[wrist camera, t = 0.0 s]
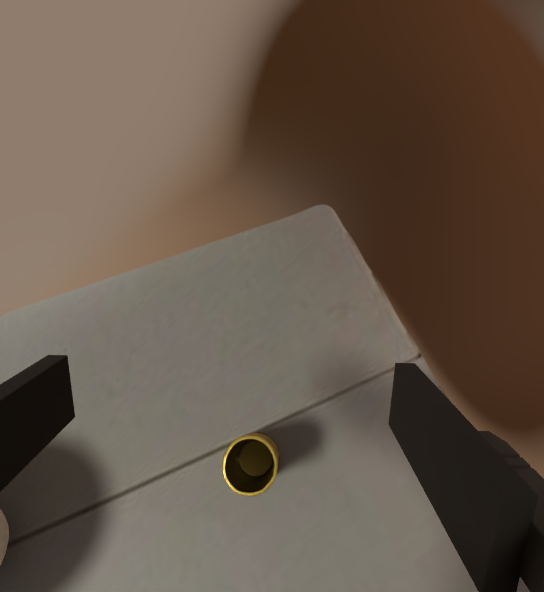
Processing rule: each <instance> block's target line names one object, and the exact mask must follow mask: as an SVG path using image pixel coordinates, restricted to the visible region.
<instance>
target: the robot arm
mask: <svg viewBox="0 0 544 592" xmlns="http://www.w3.org/2000/svg"><path fill="white" fill-rule="evenodd" d="M74 417H75V413H74V405H73V397H72V389H71V381H70V373H69V365H68V357H67V356H66V355H48V356H46V357H44V358H43V359H41V360H39V361H38V362H36V363H35V364H33V365H31V366H30V367H28V368H26V369H25V370H23V371H22V372H20V373H18V374H17V375H15V376H13V377H12V378H10V379H9V380H7V381H5V382H4V383H2V384H0V492H1V491H2V490H3V489H4V488H5V487H6V486H7V485H8V484H9V483H10V482H11V481H12V480H13V479H14V478H15V477H16V476H17V475H18V474H19V473H20V472H21V471H22V470H23V469H24V468H25V467H26V466H27V465H28V464H29V463H30V462H31V461H32V460H33V459H34V458H35V457H36V456H37V455H38V454H39V453H40V452H41V451H42V450H43V449H44V448H45V447H46V446H47V445H48V444H49V443H50V442H51V441H52V440H53V439H54V438H55V437H56V435H57V434H58V433H59V432H60V431H61V430H62V429H63V428H64V427H65V426H66V425H67V424H68V423H69V422H70V421H71V420H72V419H73V418H74ZM389 426H390V428H391V430H392V432H393V433H394V435H395V437H396V439H397V441H398V443H399V445H400V446H401V448H402V450H403V452H404V454H405V456H406V458H407V459H408V461H409V463H410V465H411V467H412V469H413V471H414V472H415V474H416V476H417V478H418V480H419V482H420V484H421V485H422V487H423V489H424V491H425V493H426V495H427V497H428V498H429V500H430V502H431V504H432V506H433V508H434V510H435V511H436V513H437V515H438V517H439V519H440V521H441V523H442V524H443V526H444V528H445V530H446V532H447V534H448V536H449V537H450V539H451V541H452V543H453V545H454V547H455V549H456V550H457V552H458V554H459V556H460V558H461V560H462V562H463V563H464V565H465V567H466V569H467V571H468V573H469V575H470V576H471V578H472V580H473V582H474V584H475V586H476V588H477V589H478V591H479V592H516V591H517V586H518V582H519V578H520V577H521V578H522V580H523V581H524V583H525V584H526V586H527V587H528V589H529V590H530V592H544V479H543V478H542V477H541V476H540V475H539V474H538V473H537V472H536V471H535V470H534V469H532V468H531V467H530V465H529V464H528V463H527V462H526V461H525V460H524V459H523V458H520V456H519V454H518V453H517V452H516V451H515V450H514V449H513V448H512V447H511V446H510V445H509V444H508V443H507V442H505V441H504V440H502V439H500V438H499V437H497V436H496V435H494V434H492V433H491V432H489V431H477V430H476V429H475V428H474V427H473V425H472V424H471V423H470V422H469V421H468V420H467V419H466V418H465V417H464V416H463V415H462V414H461V412H460V411H459V410H458V409H457V408H456V407H455V406H454V405H453V404H452V403H451V402H450V401H449V400H448V399H447V397H446V396H445V395H444V394H443V393H442V392H441V391H440V390H439V389H438V388H437V387H436V386H435V385H434V384H433V383H432V381H431V380H430V379H429V378H428V377H427V376H426V375H425V374H424V373H423V372H422V371H421V370H420V369H419V368H418V366H417V365H416V364H415V363H395V372H394V381H393V390H392V399H391V408H390V417H389Z"/></svg>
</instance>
